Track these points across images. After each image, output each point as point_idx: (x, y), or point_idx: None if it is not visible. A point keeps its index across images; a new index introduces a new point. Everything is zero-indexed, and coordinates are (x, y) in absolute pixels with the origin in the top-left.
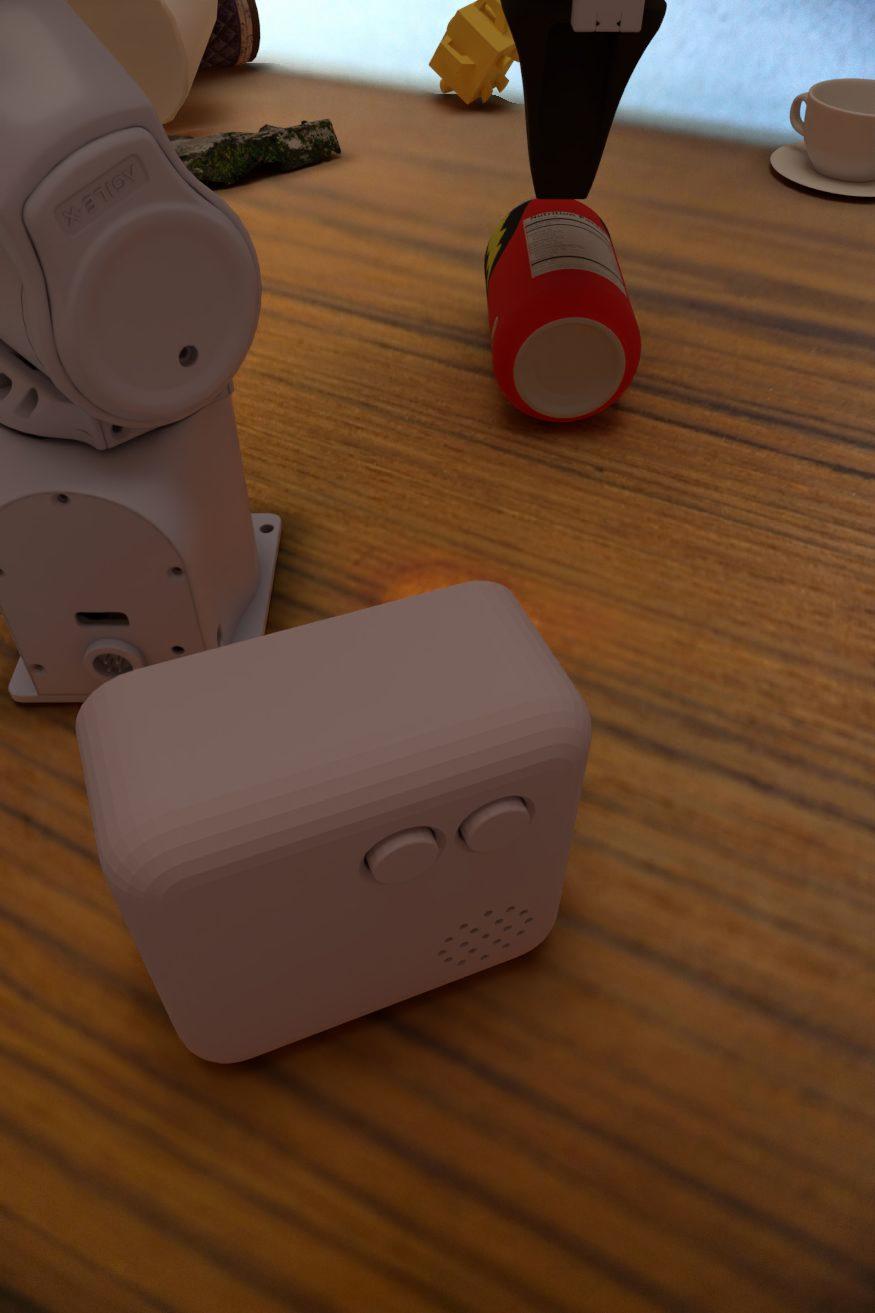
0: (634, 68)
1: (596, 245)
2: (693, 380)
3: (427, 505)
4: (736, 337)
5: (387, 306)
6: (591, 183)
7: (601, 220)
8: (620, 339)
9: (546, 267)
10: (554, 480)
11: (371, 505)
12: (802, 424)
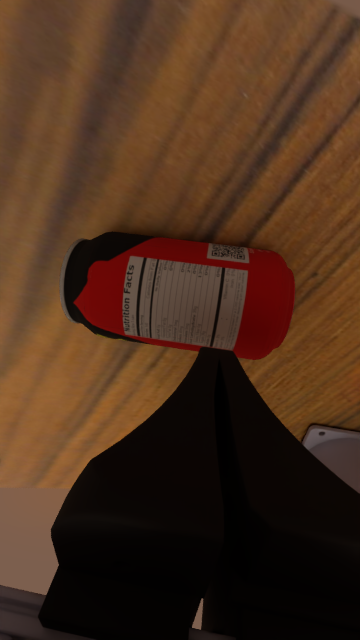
0: (308, 451)
1: (179, 288)
2: (218, 170)
3: (316, 368)
4: (150, 99)
5: (106, 357)
6: (237, 358)
7: (99, 258)
8: (293, 284)
9: (225, 341)
10: (316, 303)
11: (306, 390)
12: (307, 81)
